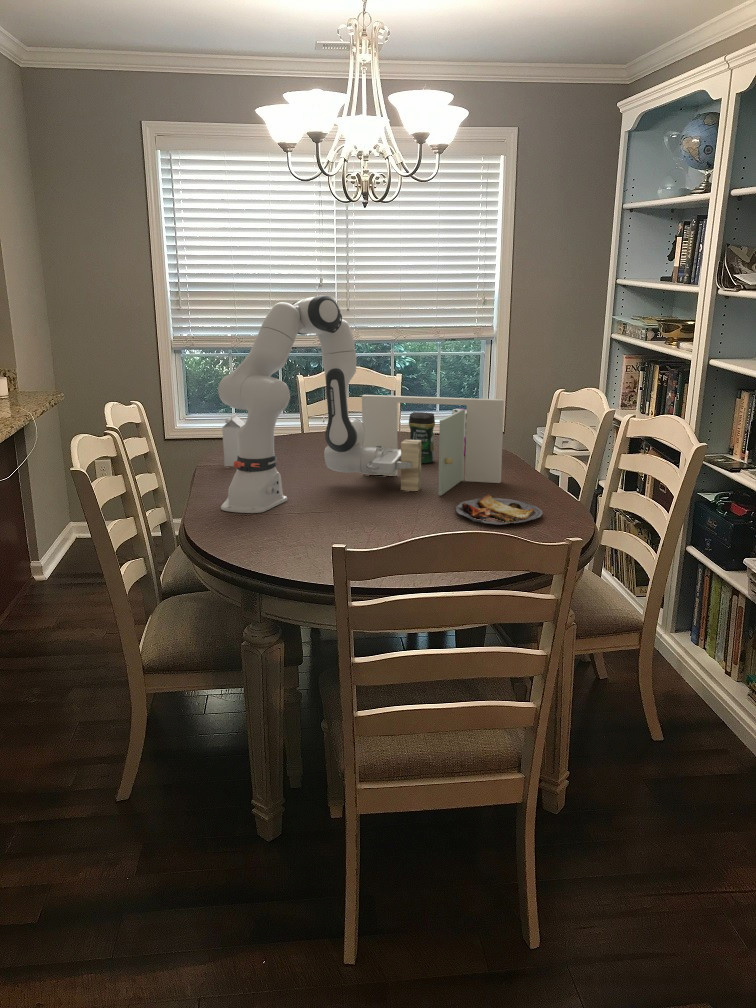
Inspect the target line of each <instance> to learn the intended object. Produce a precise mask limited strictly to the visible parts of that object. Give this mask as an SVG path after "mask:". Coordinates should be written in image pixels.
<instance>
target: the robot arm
mask: <svg viewBox="0 0 756 1008" xmlns="http://www.w3.org/2000/svg"><path fill="white" fill-rule="evenodd" d="M310 334H315V335H316V336H317V338H318V340H319V342H320V343H319V344H320V349H321V358H322V366H323V372H324V378H325V385H326V386H325V388H326V390H325V391H326V402H327V403H326V404H327V405H326V406H327V415H328V416H327V419H328V420H327V425H326V429H325V431H324V432H325V433H324V438H325V441H326V444H327V446H326V447H325V448H324V452H323V459H324V463H325V465H326V467H327V468H328V469H330V470H331V471H334V472H340V473H348V474H351V473H360V474H363V473H366V474H377V473H382V474H393V473H394V472H395V471H396V470H397V471H398V470H401V469H403V468H411V467H412V462H401V448H400V449H399V448H397V449H393V448H383V446H376V447H363V442H364V436H365V428H364V425H363V424H362V420H359V419H358V418H356V417H350V416H349V408H348V407H349V406H348V396H347V395H348V394H347V393H348V387H349V383H350V381H351V380H352V379H353V377H354V376H355V374H356V372H357V353H356V347H355V345H356V344H355V340H354V337H353V333H352V329H351V326H350V323H349V322H348V321H347V320H345V319H344V318H343V315H342V313H341V309H340V307H339V304H338V302H336V300H335V299H334V298H332V297H331V296H329V295H324V294H323V295H321V294H320V295H316V296H312V297H306V298H303V299H301V300H299V301H295V302H293V303H289V302H286V301H285V302H284V301H283V302H282V301H281V302H277V303H275V304H274V305H273V306H272V307H271V308H270V310H269V312H268V313H267V314H266V317H265V318H264V320H263V322H262V324H261V326H260V329H259V331H258V333H257V335H256V338H255V340H254V342H253V344H252V347H251V349H250V351H249V353H248V354H247V355H246V356H245V358H244V359H243V360H242V361H241V363H240V364H239V365H238V366H237V367H236V368H235V369H234V370H233V371H231V372H230V373H229V374H227V375H225V376H223V377H222V379H221V380H220V382H219V384H218V388H217V391H218V392H217V393H218V397H219V399H220V400H221V402H222V403H223V404H224V405H227V407H228V406H229V407H230V408H233V409H236V410H243V411H247V418H246V421H245V422H244V423H245V425H243V426H242V427H241V428H240V429H239V430H238V434H237V435H238V454H239V455H238V456H237V461H234V463H233V465H234V468H236V470H235V473H234V475H233V477H232V480H231V482H230V485H228V486H229V487H228V491H227V498H226V499H225V501H224V502H223V503H222V504H221V506H220V510H222V511H225V512H229V513H230V512H232V513H240V514H245V513H246V514H256V513H257V514H259V513H265V512H266V511H268V510H271V509H273V508H274V507H277V506H279V505H281V504H283V503H285V502H287V501H288V496H286V495H284V493H283V491H284V490H283V484H282V476H281V473H280V472H279V471H278V469H277V468H276V467H277V455H276V453H275V428H276V424H277V421H278V418H279V416H280V414H282V412H283V411H285V410H286V408H287V407H288V405H289V403H290V399H291V392H290V388H289V386H288V385H287V383H286V382H285V381H283V380H280V379H279V378H276V377H273V376H272V375H273V374H275V373H276V372H279V371H280V370H281V369H283V368H284V367H285V365H286V363H287V360H288V358H289V355H290V354H291V351H292V348H293V346H294V343H295V340H296V338H297V336H298V335H301V336H303V335H310Z"/></svg>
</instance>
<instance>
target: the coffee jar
mask: <svg viewBox="0 0 756 1008" xmlns="http://www.w3.org/2000/svg"><path fill="white" fill-rule="evenodd" d="M435 420H436V419H435V414H434V413H433V412H424V411H420V412H419V411H417V412H416V411H413V412H411V413H410V414H409V419H408V426H409V430H410V432H409V433H410V436H409V440H421V464H429V463H433V462H434V460H435V449H434V428H435V425H436V421H435Z"/></svg>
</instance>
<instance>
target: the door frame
mask: <svg viewBox="0 0 756 1008" xmlns="http://www.w3.org/2000/svg"><path fill="white" fill-rule="evenodd" d="M398 404H422V405H451V406H453V405H454V406H466V410H467V416H466V454H464V455H465V456H464V481H465V482H472V483H474V482H476V483H477V482H478V483H493V484H494V483H495V484H501V481H502V459H503V439H504V438H503V437H504V435H503V431H504V411H505V409H504V408H505V399H499V398H498V399H497V398H475V397H473V398H472V397H471V398H469V397H466V398H465V397H444V396H443V397H442V396H437V397H436V396H413V395H411V396H410V395H408V396H407V395H385V394H384V395H380V394H379V395H378V394H375V395H374V394H362V395H361V422H362V424H363V425H364V428H365V436H364V442H363V447H376V446H383V448H393V449H398ZM363 474H366V473H362V475H363ZM374 475H389V476H396V475H397V476H398V469H397V470H396V471H395V472H394V473H393V474H382V473H377V474H374Z"/></svg>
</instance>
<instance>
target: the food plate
mask: <svg viewBox="0 0 756 1008" xmlns="http://www.w3.org/2000/svg"><path fill="white" fill-rule="evenodd" d="M454 511H455V512H456V514H457V515H460V516H463V517H465V518H468V519H469V520H470V521H472V522H476V523H480V524H481V523H482V524H488V525H496V526H497V525H511V524H510V523H511V522H512V523H514V524H519V523H526V522H528V521H531V520H532V521H534V520H536V519H538V518H540V517H542V515H543V511H542V509H541V508H539V507H537V505H534V504H533V503H531V502H526V501H523V500H522V501H521V500H516V499H511V498H503V497H502V498H501V497H492V496H491V495H490V494H486V495H484V496H483V497H482V498H473V499H466V500H464V501H460V502H459V503H457V505H455V506H454ZM531 516H532V517H531ZM513 517H514V518H513ZM474 518H476V519H474ZM488 518H495V519H498V520H501V521H504V522H510V523H504V522H501V521H500V522H497V521H493V522H492V521H488V520H486V521H484V520H483V519H488ZM515 518H518V519H524V520H519V521H517V520H518V519H515ZM477 519H481V520H477ZM514 521H516V522H514Z"/></svg>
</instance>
